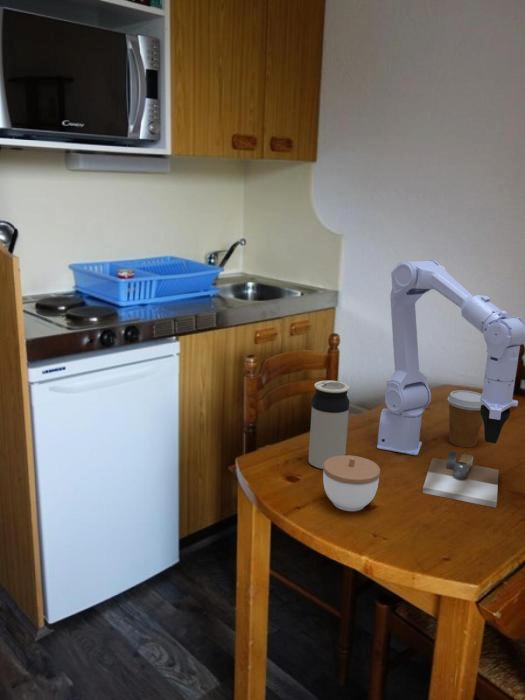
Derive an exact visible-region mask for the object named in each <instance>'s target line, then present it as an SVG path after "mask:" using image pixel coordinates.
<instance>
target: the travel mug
mask: <svg viewBox="0 0 525 700" xmlns="http://www.w3.org/2000/svg"><path fill="white" fill-rule="evenodd" d="M313 385H314V386H313V387H314V389H315V394H314V395H313V396H312V400H311V413H310V414H311V415H310V428H309V429H310V430H309V432H310V433H309V442H308V443H309V445H308V447H309V448H308V463H309V465H312V466H313V467H315V468H317V469H321V470H323V464H324V462H325V461H326V460H327V459H329V458H331V457H334V456H341V455H346V450H347V449H346V448H347V437H348V426H349V425H348V424H349V414H350V413H349V411H350V399H349V397H348V391H349V390H350V386H349V385H348V384H347V383H345V382H341V381H339V380H331V379H330V380H329V379H328V380H320V381H317V382H315V383H314V384H313Z"/></svg>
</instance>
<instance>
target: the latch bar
mask: <svg viewBox="0 0 525 700" xmlns="http://www.w3.org/2000/svg"><path fill="white" fill-rule="evenodd" d="M473 461H474V456H473V455H471V454H466V453H463V454H462V455H461V456H460V458H459V460H458V461H456V462H455V464H454V471H453V476H454V477H456V478H458V479H466V478H467V474H468V472H469V470H470V468H471V466H472V465H473Z"/></svg>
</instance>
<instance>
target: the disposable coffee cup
mask: <svg viewBox="0 0 525 700" xmlns="http://www.w3.org/2000/svg"><path fill="white" fill-rule="evenodd" d="M481 396H482V393H480V392H476V391H472V390H453V391H451V392H450V393H449V395H448V397H447V401H448V417H449V418H448V419H449V420H448V426H449V429H448V430H449V431H448V432H449V434H448V435H449V438H448V440H449V443H450V444H452V445H454V446H458V447H461V448H472V447H476V445H477V443H478V439H479V435H480V431H481V428H482V424H483V418H482V416H481V413H480V408H481V405H484V404H483V403H482V402H481V401H480V398H481Z"/></svg>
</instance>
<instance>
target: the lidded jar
mask: <svg viewBox="0 0 525 700" xmlns="http://www.w3.org/2000/svg"><path fill="white" fill-rule="evenodd" d="M322 470H323V473H322V481H323V487H324V492H325V494H326V496H327V497H328V499H329V500H330V501H331V503H332V505H334V506H335V507H336V508H337V509H338V510H342V511H346V512H358V511H361V510H363V509H364V508H365V507H366V506H368V505H369V504H370V503H371V502H372V501H373V499H374V498H375V495H376V493H377V491H378V487H379V481H380V476H381V468H380V467H379V465H378V464H377V463H376V462H374V461H373V460H371V459H368V458H365V457H362V456H357V455H351V454H349V455H347V454H345V455H341V456H334V457H331V458H329V459H327V460H326V461H325V462H324V464H323V469H322Z"/></svg>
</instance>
